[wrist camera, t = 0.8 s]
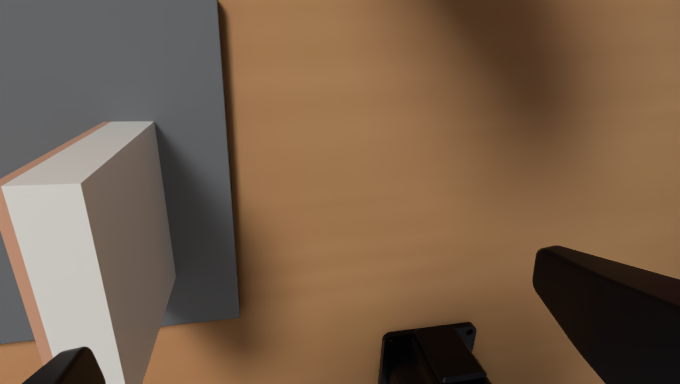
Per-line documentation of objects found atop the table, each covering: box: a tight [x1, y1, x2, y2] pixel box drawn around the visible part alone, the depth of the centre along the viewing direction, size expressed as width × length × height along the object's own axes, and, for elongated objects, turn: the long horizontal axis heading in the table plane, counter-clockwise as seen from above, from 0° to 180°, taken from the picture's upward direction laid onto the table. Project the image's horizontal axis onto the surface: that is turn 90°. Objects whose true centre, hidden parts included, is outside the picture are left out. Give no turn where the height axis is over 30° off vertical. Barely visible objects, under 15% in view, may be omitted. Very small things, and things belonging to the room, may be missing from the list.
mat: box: [0, 0, 240, 344], centre depth 17 cm, size 16×18×1 cm
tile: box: [0, 121, 176, 384], centre depth 14 cm, size 8×2×8 cm, turn 178°
